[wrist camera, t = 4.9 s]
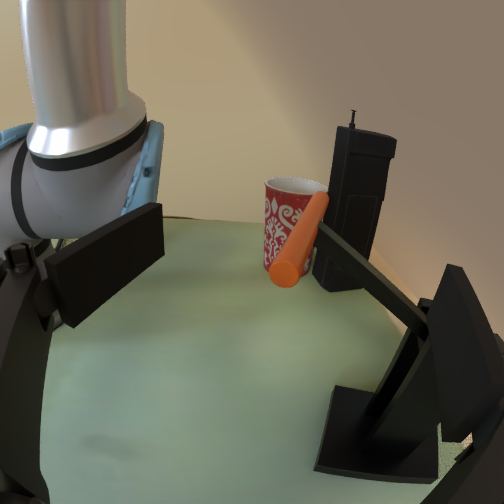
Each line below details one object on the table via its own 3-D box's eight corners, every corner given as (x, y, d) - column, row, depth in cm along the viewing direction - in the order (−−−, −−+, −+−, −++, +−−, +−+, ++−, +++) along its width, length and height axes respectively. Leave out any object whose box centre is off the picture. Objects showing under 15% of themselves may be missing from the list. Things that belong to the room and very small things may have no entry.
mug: (289, 290, 43) (303, 197, 37) (245, 264, 48) (251, 180, 42) (336, 263, 51) (351, 186, 45) (295, 244, 56) (305, 172, 50)
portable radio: (351, 268, 50) (380, 116, 38) (369, 287, 44) (406, 122, 33) (309, 271, 48) (333, 107, 36) (325, 293, 43) (358, 110, 31)
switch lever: (254, 284, 12) (290, 242, 11) (303, 205, 21) (324, 180, 20) (447, 430, 12) (482, 410, 11) (430, 319, 22) (452, 301, 20)
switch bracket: (312, 470, 19) (375, 361, 13) (331, 392, 27) (375, 272, 21) (430, 484, 16) (534, 382, 10) (430, 409, 24) (497, 300, 18)
